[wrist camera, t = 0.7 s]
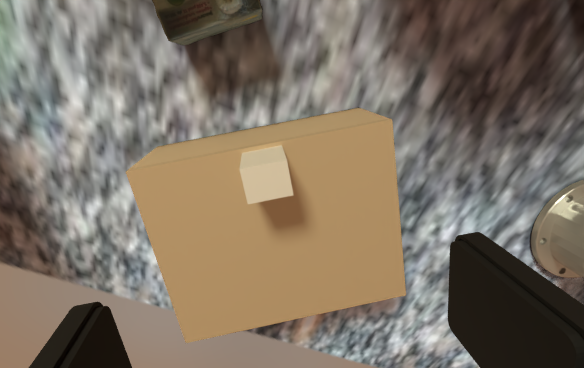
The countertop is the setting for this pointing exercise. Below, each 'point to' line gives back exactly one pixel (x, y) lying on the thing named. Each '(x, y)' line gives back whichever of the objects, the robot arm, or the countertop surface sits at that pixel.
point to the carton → (258, 135)
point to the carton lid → (276, 228)
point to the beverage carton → (204, 17)
